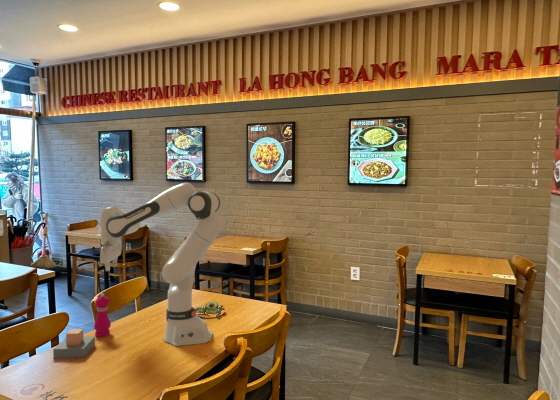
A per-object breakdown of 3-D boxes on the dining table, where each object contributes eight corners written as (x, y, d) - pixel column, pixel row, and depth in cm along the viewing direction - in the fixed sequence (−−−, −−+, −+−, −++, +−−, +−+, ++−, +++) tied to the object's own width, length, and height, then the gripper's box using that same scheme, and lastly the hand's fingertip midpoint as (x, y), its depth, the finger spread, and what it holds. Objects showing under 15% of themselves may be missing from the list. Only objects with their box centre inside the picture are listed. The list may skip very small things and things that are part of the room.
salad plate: (232, 317, 211) (232, 309, 211) (200, 322, 203) (200, 314, 203) (220, 306, 228) (220, 299, 228) (190, 311, 220) (190, 303, 220)
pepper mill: (104, 338, 180) (104, 296, 179) (90, 336, 181) (90, 295, 180) (113, 332, 187) (113, 291, 186) (100, 330, 188) (100, 290, 187)
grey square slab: (94, 345, 172) (94, 336, 172) (83, 357, 160) (83, 348, 160) (66, 345, 171) (66, 337, 171) (53, 358, 159) (53, 349, 159)
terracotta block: (83, 340, 168) (83, 328, 168) (78, 345, 163) (78, 333, 163) (71, 340, 168) (71, 329, 168) (66, 345, 163) (66, 333, 163)
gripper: (110, 243, 175) (111, 273, 176) (123, 236, 196) (124, 263, 196) (96, 243, 175) (96, 273, 175) (110, 236, 195) (111, 263, 196)
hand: (111, 268), depth 186 cm, fingers open, 8 cm apart
